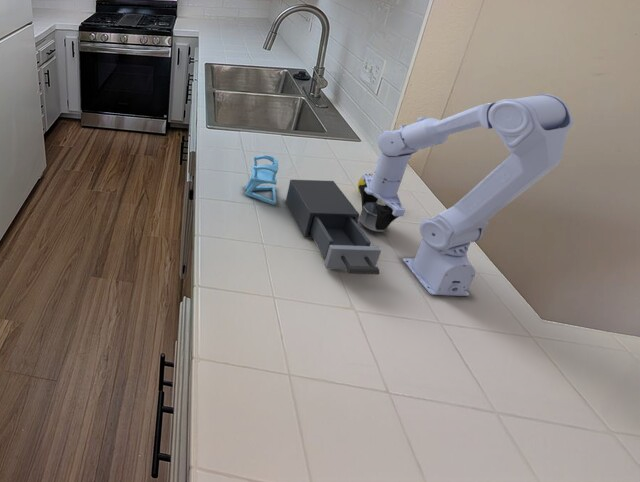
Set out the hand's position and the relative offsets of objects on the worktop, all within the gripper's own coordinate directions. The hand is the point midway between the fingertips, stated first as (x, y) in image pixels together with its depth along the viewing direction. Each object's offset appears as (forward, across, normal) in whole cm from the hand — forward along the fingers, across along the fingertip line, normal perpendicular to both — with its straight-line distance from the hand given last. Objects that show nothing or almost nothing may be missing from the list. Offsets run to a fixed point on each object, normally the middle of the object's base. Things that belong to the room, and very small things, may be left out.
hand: (373, 220), depth 98 cm
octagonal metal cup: (+1, 0, 0) cm, 1 cm away
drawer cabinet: (+2, -2, -13) cm, 13 cm away
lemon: (+2, -12, +5) cm, 13 cm away
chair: (+2, -12, -25) cm, 28 cm away
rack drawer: (+1, +11, -13) cm, 17 cm away
